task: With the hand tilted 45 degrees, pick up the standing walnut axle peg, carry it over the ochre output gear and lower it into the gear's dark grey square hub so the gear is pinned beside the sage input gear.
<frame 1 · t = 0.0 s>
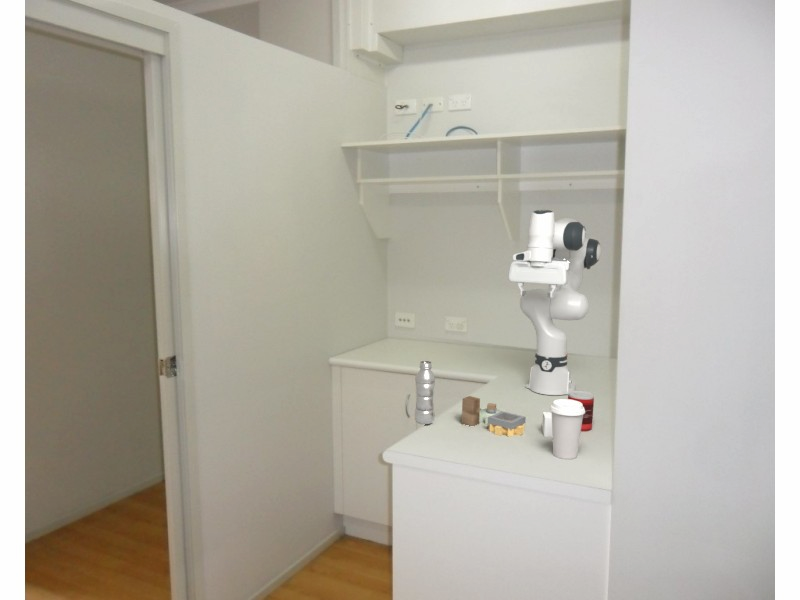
hand: (536, 296, 218), 39 cm above the counter, tool pointing down, fingers open, 8 cm apart
coffee cup: (565, 455, 177), on the counter
canned food: (579, 428, 201), on the counter
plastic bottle: (424, 423, 203), on the counter
adhesive note: (552, 434, 195), on the counter
peg: (470, 424, 203), on the counter
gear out: (506, 430, 197), on the counter
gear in: (491, 419, 208), on the counter
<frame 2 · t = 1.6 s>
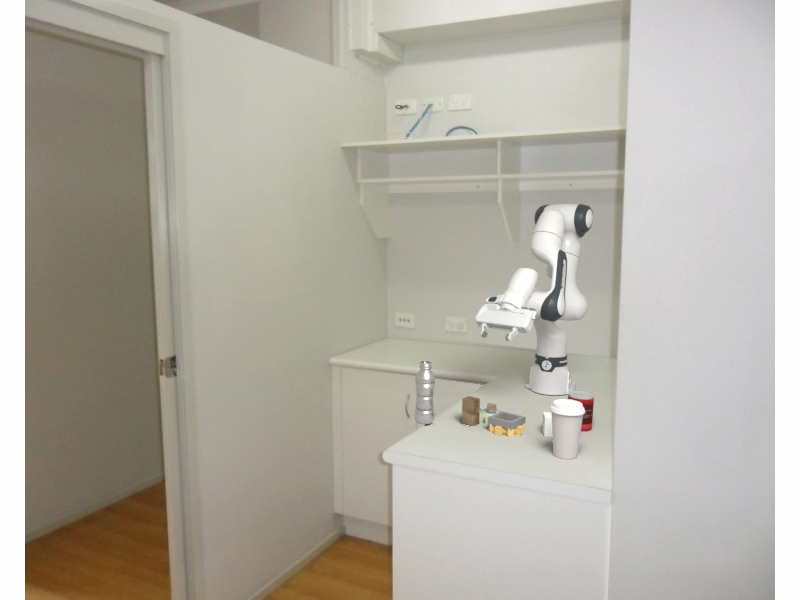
hand: (495, 338, 208), 26 cm above the counter, tool tilted 45°, fingers open, 8 cm apart
nothing on the counter moved.
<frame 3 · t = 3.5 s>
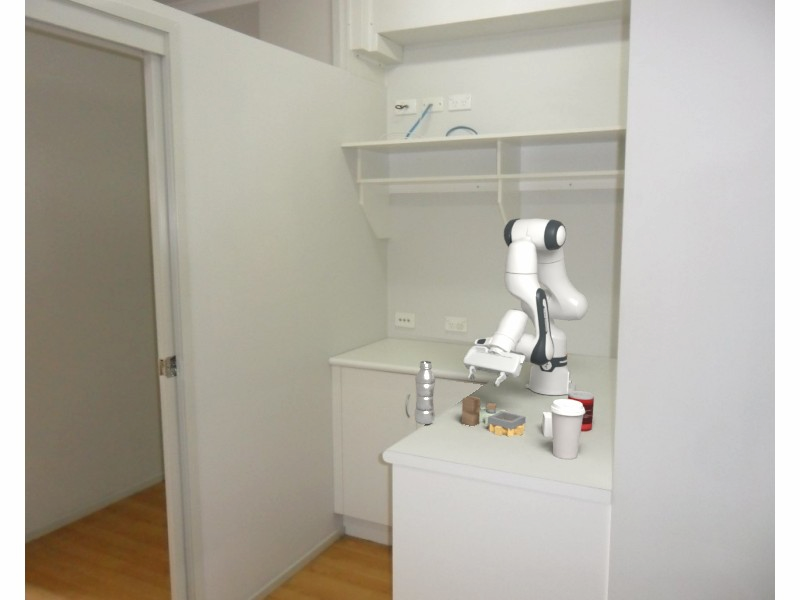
hand: (482, 382, 206), 13 cm above the counter, tool tilted 45°, fingers open, 8 cm apart
nothing on the counter moved.
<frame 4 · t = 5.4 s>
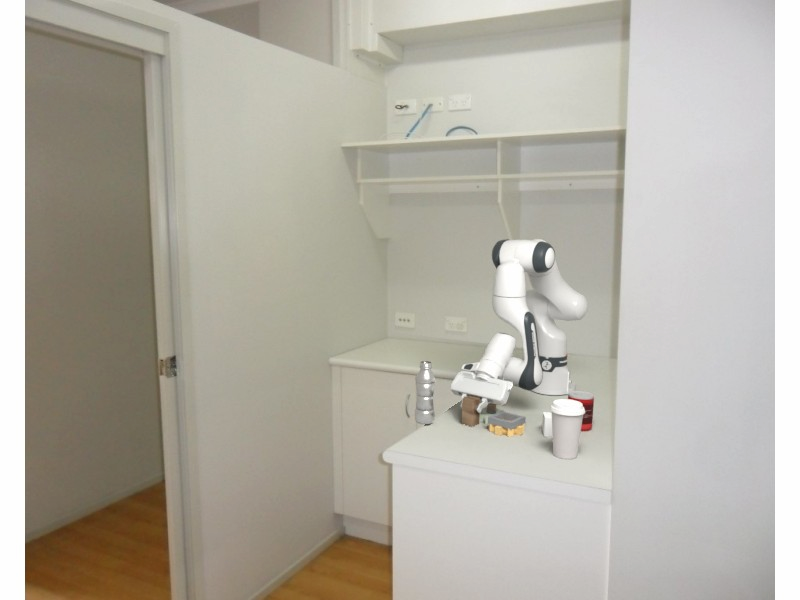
hand: (469, 409, 201), 5 cm above the counter, tool tilted 45°, fingers closed on peg, 4 cm apart
peg: (470, 424, 203), on the counter, touching gripper
everything else where it was.
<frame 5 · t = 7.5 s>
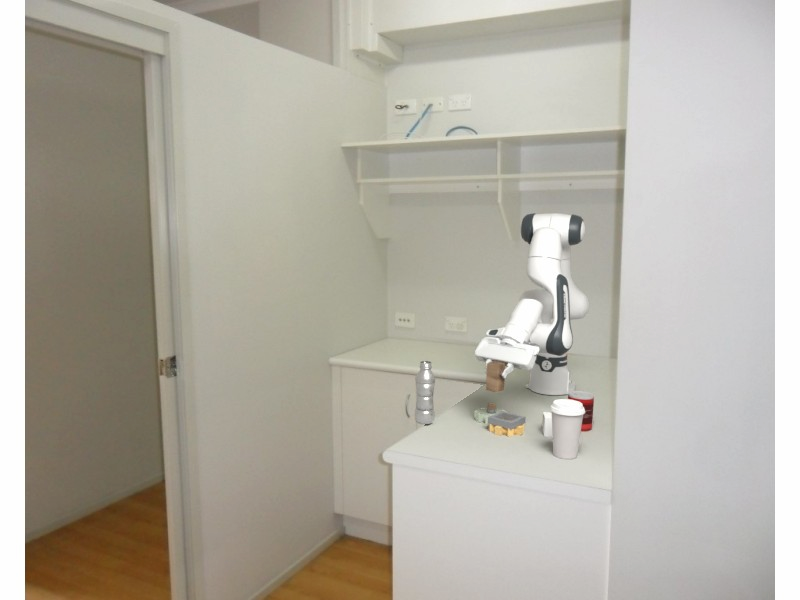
hand: (494, 375, 196), 17 cm above the counter, tool tilted 45°, fingers closed on peg, 4 cm apart
peg: (495, 390, 197), point 12 cm above the counter, touching gripper
everything else where it was.
when the fingers open (8 cm above the counter, at t = 9.7 s): peg drops 1 cm, resting on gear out.
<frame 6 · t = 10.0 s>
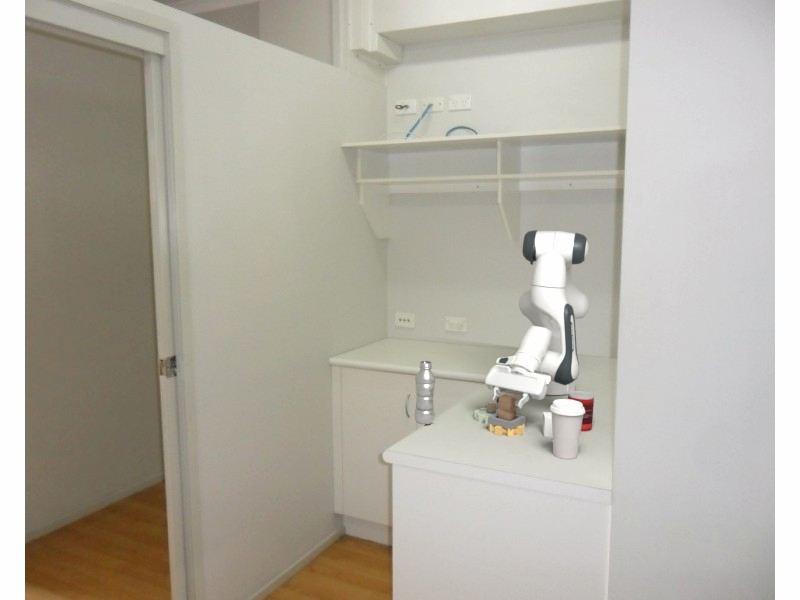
hand: (506, 404, 195), 9 cm above the counter, tool tilted 45°, fingers open, 7 cm apart
peg: (506, 422, 197), point 2 cm above the counter, touching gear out
everything else where it was.
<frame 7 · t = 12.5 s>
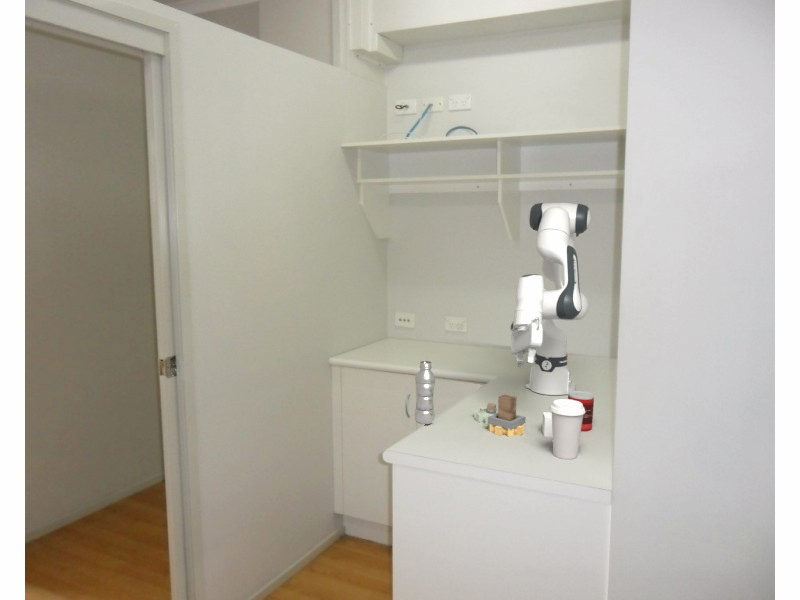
hand: (524, 365, 199), 20 cm above the counter, tool tilted 25°, fingers open, 8 cm apart
nothing on the counter moved.
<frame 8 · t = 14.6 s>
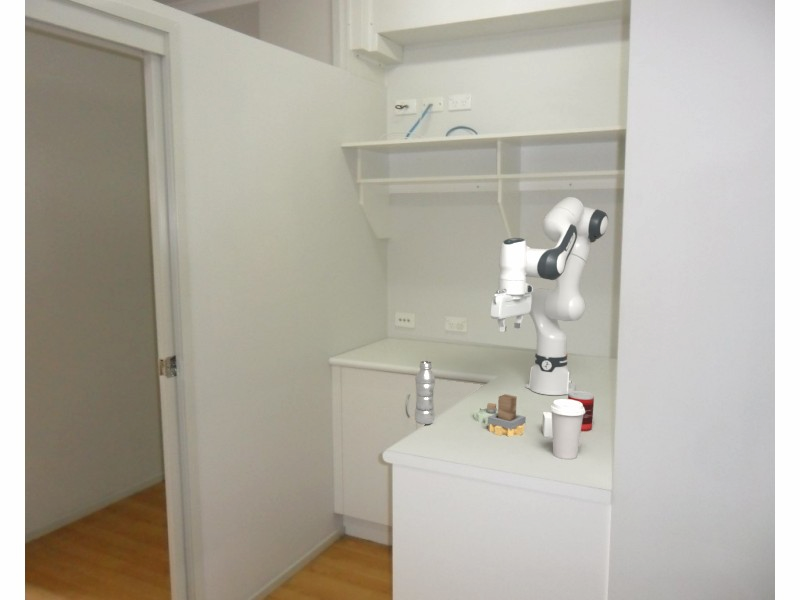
hand: (510, 329, 209), 29 cm above the counter, tool pointing down, fingers open, 8 cm apart
nothing on the counter moved.
at the end: peg 0.0 cm off-centre on the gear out, point 2.4 cm above the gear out's base; peg tilted 0°; the gripper is holding nothing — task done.
